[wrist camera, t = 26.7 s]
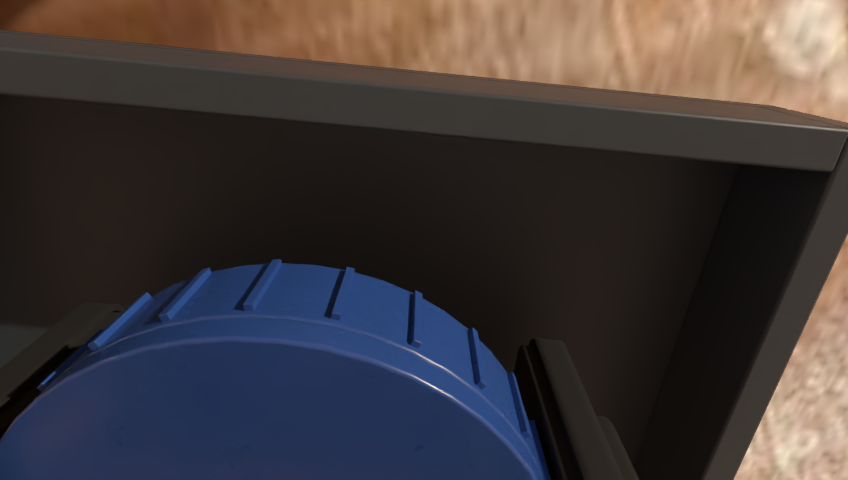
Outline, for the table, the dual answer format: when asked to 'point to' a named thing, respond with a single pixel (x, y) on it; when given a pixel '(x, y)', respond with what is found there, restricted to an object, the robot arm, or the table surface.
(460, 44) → the table surface
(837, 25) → the table surface
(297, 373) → the lid
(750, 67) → the table surface
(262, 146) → the tray
